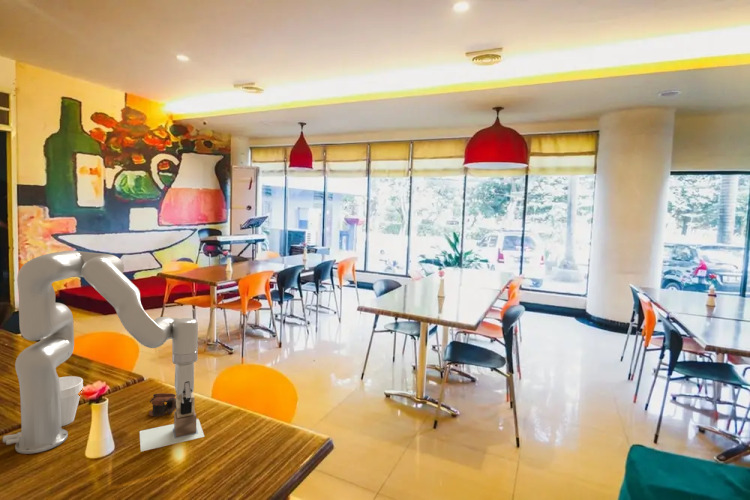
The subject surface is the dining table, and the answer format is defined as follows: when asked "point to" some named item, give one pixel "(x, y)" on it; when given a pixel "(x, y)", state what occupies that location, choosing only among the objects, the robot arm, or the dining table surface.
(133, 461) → the dining table surface
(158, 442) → the white rectangular board
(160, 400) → the pottery mug
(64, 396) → the cup
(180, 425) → the walnut cube
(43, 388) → the robot arm
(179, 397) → the maple block
